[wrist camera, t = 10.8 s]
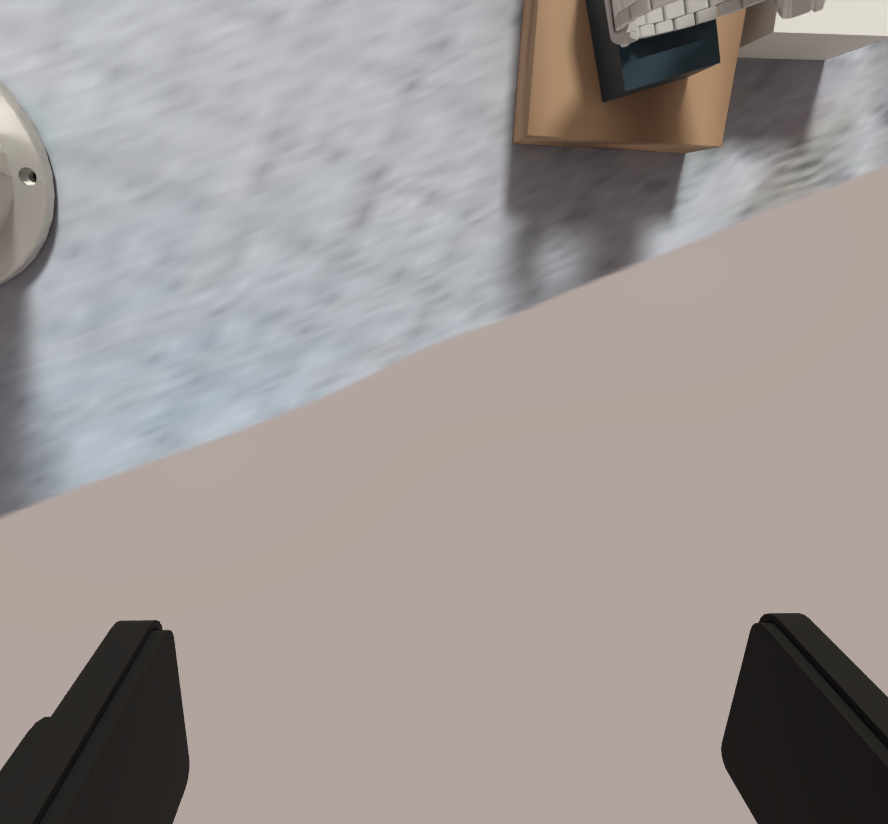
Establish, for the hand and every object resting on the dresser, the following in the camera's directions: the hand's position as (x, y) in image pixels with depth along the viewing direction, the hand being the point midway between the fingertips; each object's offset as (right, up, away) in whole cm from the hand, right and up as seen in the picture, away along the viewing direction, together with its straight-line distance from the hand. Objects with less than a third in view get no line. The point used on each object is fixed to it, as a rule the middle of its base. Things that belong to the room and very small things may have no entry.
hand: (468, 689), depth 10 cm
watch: (+9, +23, +19) cm, 31 cm away
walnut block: (+9, +24, +22) cm, 34 cm away
